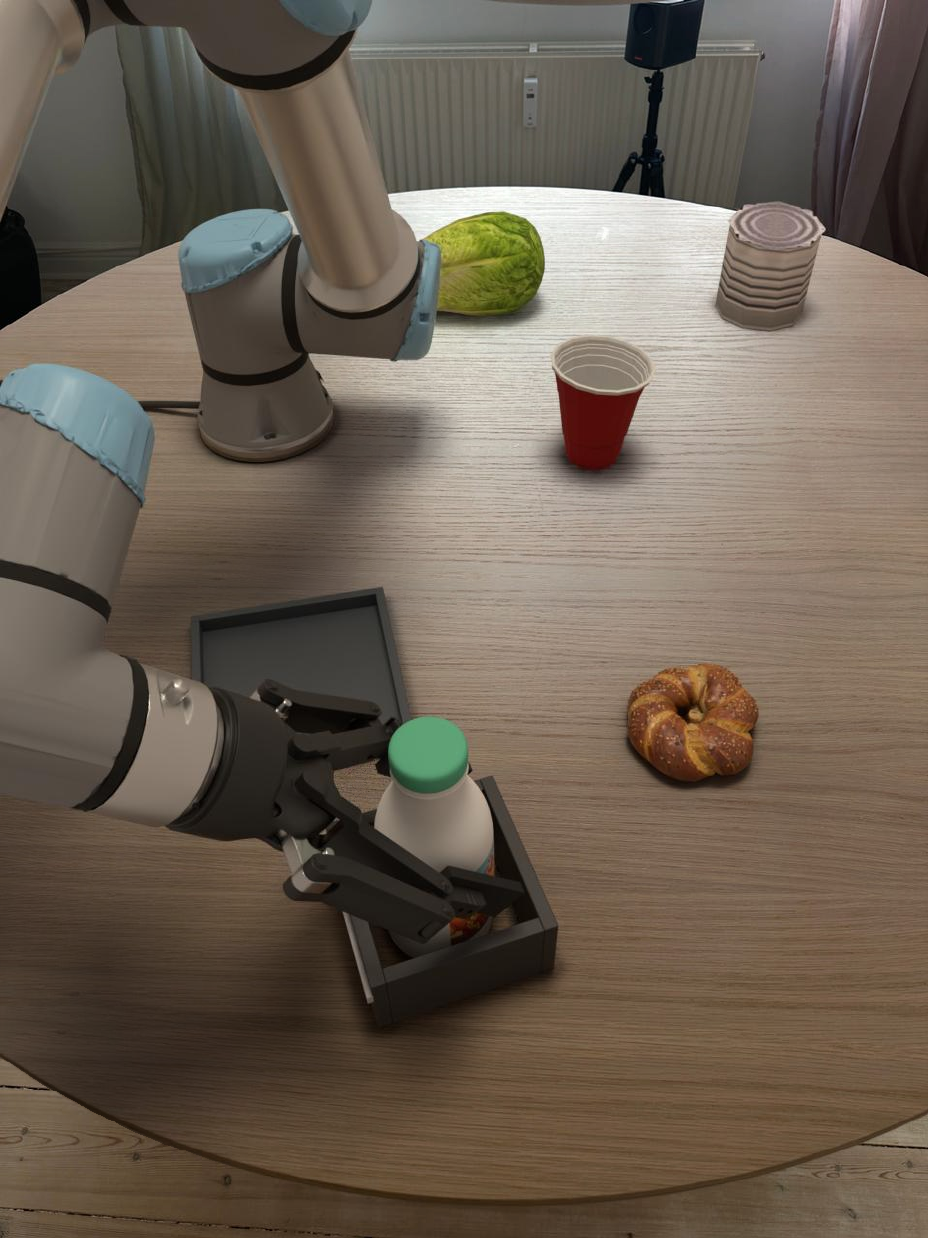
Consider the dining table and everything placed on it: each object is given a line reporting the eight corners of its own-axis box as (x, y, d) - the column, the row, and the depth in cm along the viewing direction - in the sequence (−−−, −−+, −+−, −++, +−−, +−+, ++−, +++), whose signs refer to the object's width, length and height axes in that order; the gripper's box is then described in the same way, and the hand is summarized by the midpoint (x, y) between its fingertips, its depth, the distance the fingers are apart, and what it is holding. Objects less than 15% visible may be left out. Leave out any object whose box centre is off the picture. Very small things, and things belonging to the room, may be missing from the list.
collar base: (329, 869, 73) (319, 824, 69) (491, 820, 76) (492, 774, 71) (373, 1030, 64) (365, 991, 60) (554, 968, 67) (559, 926, 63)
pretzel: (657, 658, 87) (662, 629, 84) (777, 705, 83) (787, 676, 80) (600, 753, 80) (604, 725, 77) (728, 810, 76) (737, 782, 73)
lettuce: (373, 239, 134) (364, 222, 121) (532, 212, 134) (540, 192, 120) (390, 336, 137) (382, 330, 124) (546, 310, 137) (555, 301, 123)
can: (813, 302, 132) (836, 213, 123) (784, 339, 125) (806, 248, 117) (733, 282, 136) (749, 194, 128) (701, 317, 130) (716, 227, 121)
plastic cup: (639, 491, 104) (653, 392, 95) (538, 479, 106) (542, 381, 97) (646, 432, 111) (660, 336, 103) (552, 422, 113) (557, 327, 104)
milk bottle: (414, 987, 66) (394, 823, 52) (368, 895, 71) (338, 723, 57) (513, 937, 69) (520, 767, 55) (462, 851, 74) (457, 675, 59)
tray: (195, 631, 90) (190, 615, 89) (384, 602, 93) (382, 586, 91) (198, 787, 78) (192, 771, 77) (416, 749, 81) (414, 733, 79)
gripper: (268, 897, 41) (589, 953, 56) (196, 567, 56) (465, 681, 70) (169, 993, 44) (500, 1022, 59) (125, 654, 58) (399, 746, 73)
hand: (481, 836), depth 64 cm, fingers open, 9 cm apart
